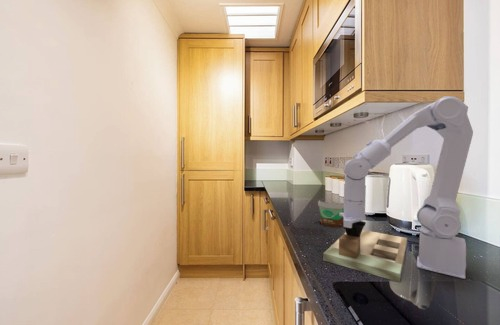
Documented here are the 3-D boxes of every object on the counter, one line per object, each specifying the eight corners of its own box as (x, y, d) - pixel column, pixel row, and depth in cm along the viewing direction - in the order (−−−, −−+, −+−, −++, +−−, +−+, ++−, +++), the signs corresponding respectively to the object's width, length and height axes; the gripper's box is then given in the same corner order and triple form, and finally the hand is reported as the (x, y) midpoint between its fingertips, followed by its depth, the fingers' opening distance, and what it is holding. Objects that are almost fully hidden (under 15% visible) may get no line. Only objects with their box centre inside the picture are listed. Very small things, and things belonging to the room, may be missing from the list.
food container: (314, 225, 98) (315, 201, 98) (317, 221, 103) (318, 199, 103) (345, 229, 92) (346, 204, 92) (347, 225, 98) (347, 202, 97)
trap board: (407, 243, 78) (407, 238, 78) (399, 282, 54) (399, 273, 54) (350, 232, 88) (350, 227, 88) (323, 260, 64) (323, 253, 64)
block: (360, 253, 65) (360, 237, 65) (356, 258, 61) (356, 242, 61) (343, 249, 67) (343, 233, 67) (338, 254, 64) (339, 238, 64)
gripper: (346, 195, 75) (345, 236, 75) (332, 202, 64) (331, 250, 64) (370, 197, 71) (369, 241, 71) (360, 205, 59) (358, 257, 60)
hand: (353, 246), depth 67 cm, fingers closed
